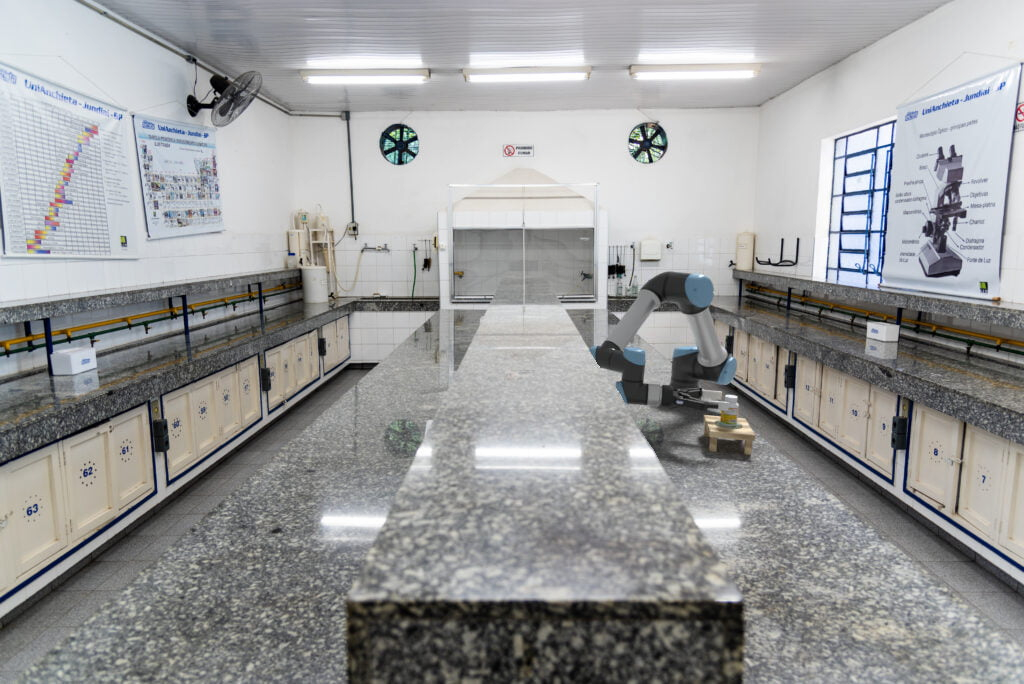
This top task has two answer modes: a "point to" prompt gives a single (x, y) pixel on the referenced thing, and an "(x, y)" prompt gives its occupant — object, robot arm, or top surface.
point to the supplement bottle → (730, 411)
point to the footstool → (728, 432)
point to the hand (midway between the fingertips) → (725, 400)
